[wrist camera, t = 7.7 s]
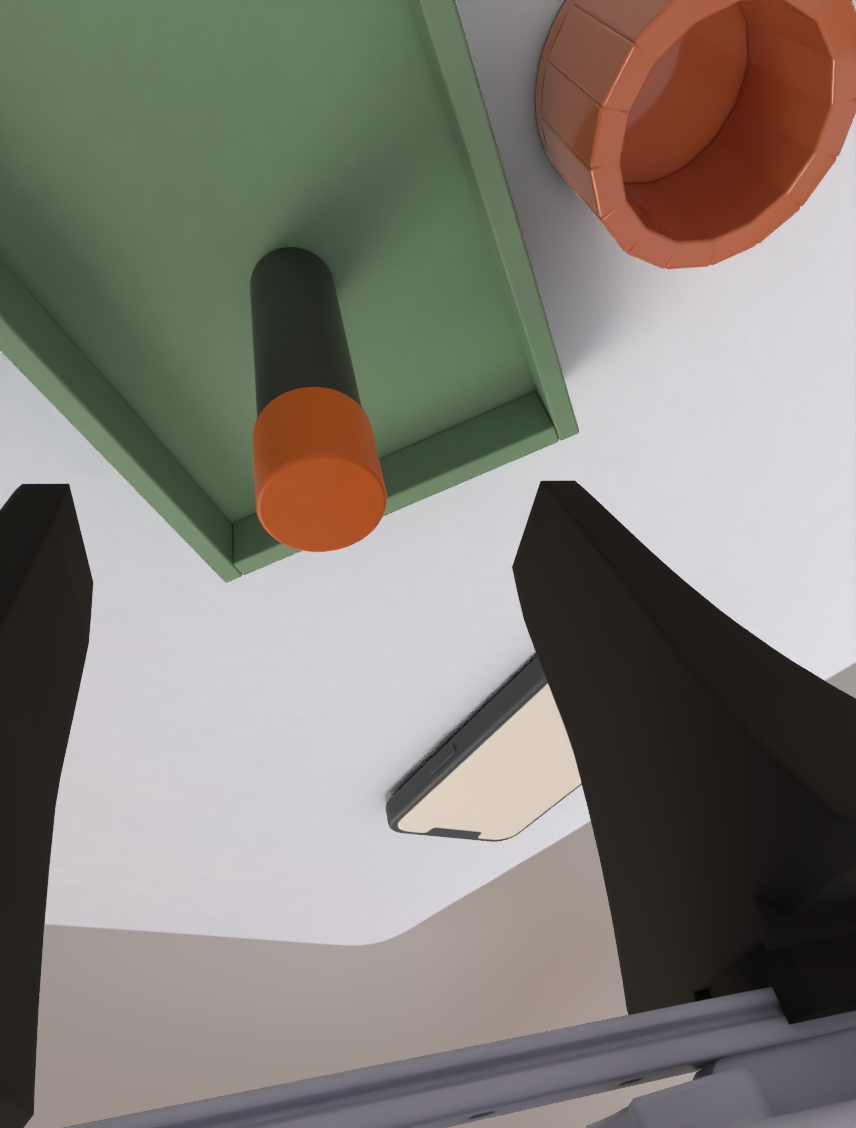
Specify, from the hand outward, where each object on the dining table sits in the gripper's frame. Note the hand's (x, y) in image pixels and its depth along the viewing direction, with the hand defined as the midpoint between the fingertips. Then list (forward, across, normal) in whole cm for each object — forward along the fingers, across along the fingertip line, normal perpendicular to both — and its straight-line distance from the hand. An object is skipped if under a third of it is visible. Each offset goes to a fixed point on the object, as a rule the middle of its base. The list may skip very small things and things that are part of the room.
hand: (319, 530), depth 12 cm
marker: (+9, 0, 0) cm, 9 cm away
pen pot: (+9, -8, -5) cm, 13 cm away
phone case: (+9, -12, +23) cm, 28 cm away
